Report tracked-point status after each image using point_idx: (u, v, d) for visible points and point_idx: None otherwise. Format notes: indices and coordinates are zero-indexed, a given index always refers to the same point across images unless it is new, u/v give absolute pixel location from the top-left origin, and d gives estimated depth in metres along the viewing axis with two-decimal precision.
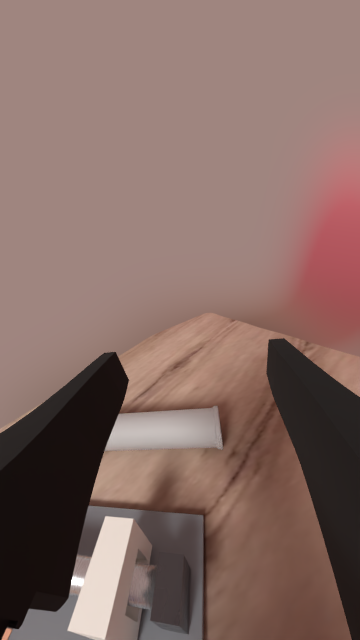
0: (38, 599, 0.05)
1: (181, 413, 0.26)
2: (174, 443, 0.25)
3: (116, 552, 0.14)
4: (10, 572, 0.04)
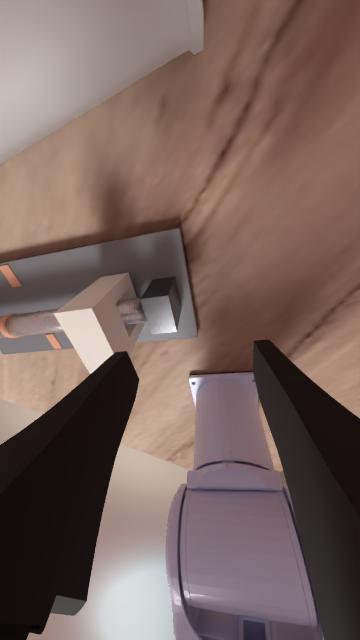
0: (57, 603, 0.05)
1: None
2: (83, 96, 0.10)
3: (94, 335, 0.12)
4: (32, 576, 0.04)
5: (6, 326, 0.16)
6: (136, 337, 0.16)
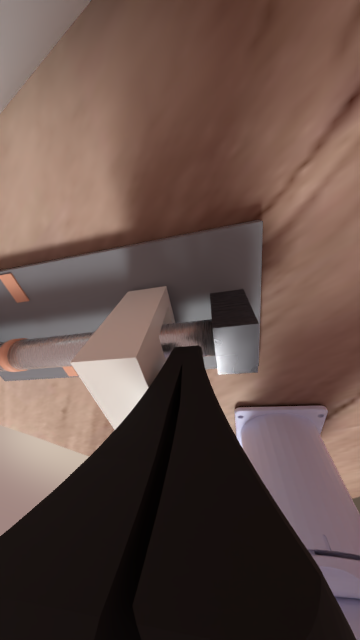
0: None
1: None
2: None
3: (133, 393, 0.07)
4: None
5: (9, 358, 0.12)
6: None
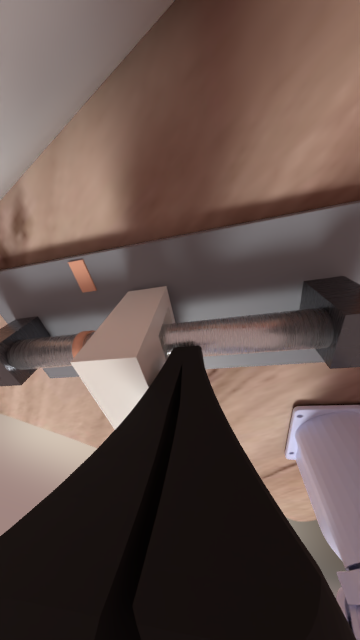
0: None
1: None
2: None
3: (133, 393, 0.07)
4: None
5: None
6: None
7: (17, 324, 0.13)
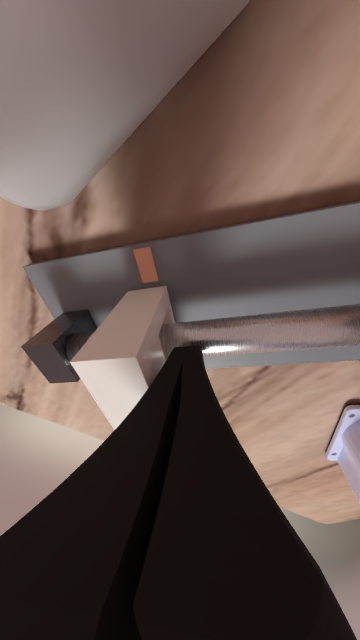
0: None
1: None
2: None
3: (133, 393, 0.07)
4: None
5: None
6: None
7: (69, 317, 0.13)
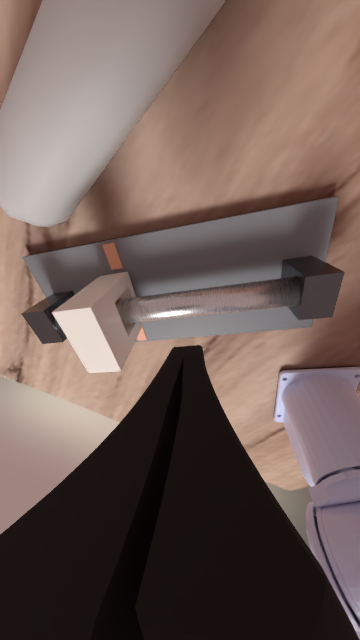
0: None
1: None
2: None
3: (92, 334, 0.12)
4: None
5: None
6: (135, 336, 0.16)
7: (57, 296, 0.17)
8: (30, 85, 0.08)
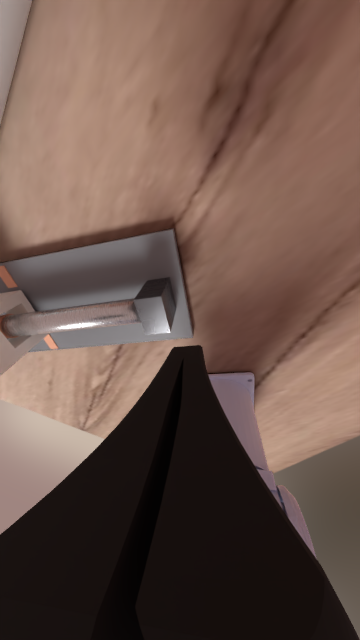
0: None
1: None
2: None
3: None
4: None
5: (1, 326, 0.16)
6: (29, 347, 0.18)
7: None
8: None
